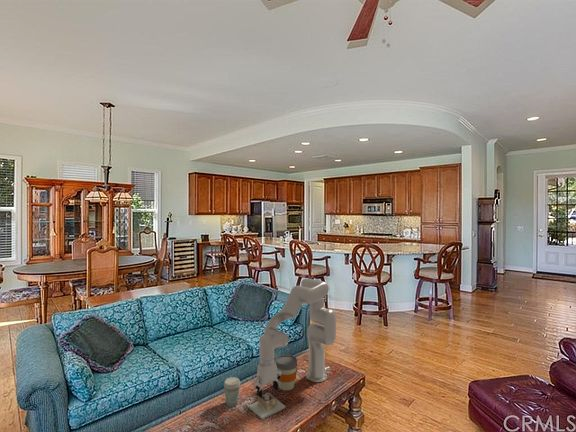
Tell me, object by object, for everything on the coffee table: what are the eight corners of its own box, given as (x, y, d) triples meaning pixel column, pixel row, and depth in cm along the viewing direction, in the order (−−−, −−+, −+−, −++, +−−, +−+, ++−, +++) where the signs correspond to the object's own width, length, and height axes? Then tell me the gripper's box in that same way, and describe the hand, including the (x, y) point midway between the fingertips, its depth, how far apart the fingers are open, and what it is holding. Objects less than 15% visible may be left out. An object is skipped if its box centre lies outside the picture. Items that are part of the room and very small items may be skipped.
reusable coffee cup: (298, 380, 188) (298, 355, 188) (296, 392, 176) (296, 366, 175) (276, 379, 190) (276, 354, 189) (273, 391, 177) (273, 364, 177)
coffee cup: (224, 410, 161) (224, 386, 161) (223, 400, 169) (223, 377, 169) (241, 407, 163) (241, 384, 163) (239, 397, 172) (239, 375, 171)
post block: (271, 396, 172) (271, 385, 172) (285, 407, 163) (285, 396, 163) (248, 407, 163) (248, 395, 163) (262, 419, 154) (262, 407, 154)
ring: (268, 399, 168) (268, 392, 168) (276, 406, 163) (276, 398, 162) (257, 405, 164) (257, 397, 164) (265, 411, 158) (265, 404, 158)
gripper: (276, 352, 171) (276, 383, 172) (248, 363, 160) (249, 396, 161) (285, 357, 165) (285, 389, 166) (257, 369, 154) (257, 403, 155)
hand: (267, 392), depth 163 cm, fingers open, 9 cm apart
